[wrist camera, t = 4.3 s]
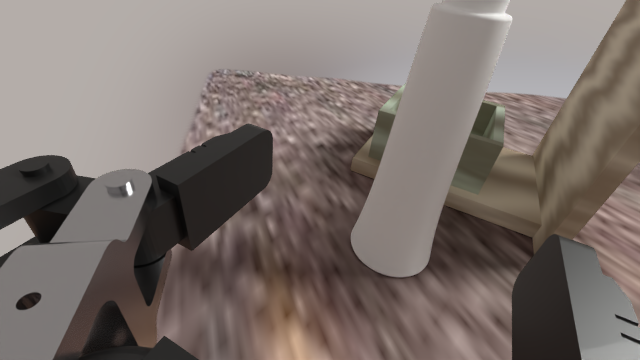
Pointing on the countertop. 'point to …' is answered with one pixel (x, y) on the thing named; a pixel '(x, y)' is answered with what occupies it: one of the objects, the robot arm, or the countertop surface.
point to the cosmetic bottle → (429, 134)
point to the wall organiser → (547, 147)
